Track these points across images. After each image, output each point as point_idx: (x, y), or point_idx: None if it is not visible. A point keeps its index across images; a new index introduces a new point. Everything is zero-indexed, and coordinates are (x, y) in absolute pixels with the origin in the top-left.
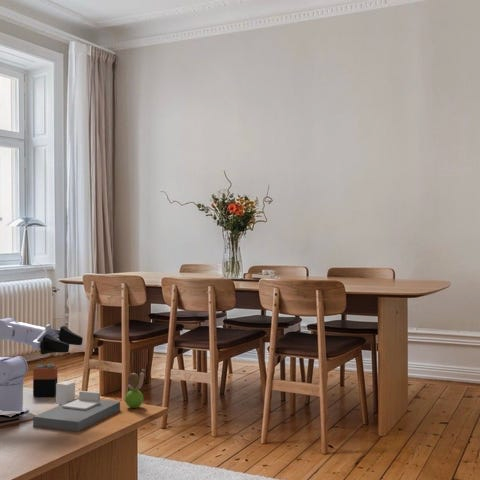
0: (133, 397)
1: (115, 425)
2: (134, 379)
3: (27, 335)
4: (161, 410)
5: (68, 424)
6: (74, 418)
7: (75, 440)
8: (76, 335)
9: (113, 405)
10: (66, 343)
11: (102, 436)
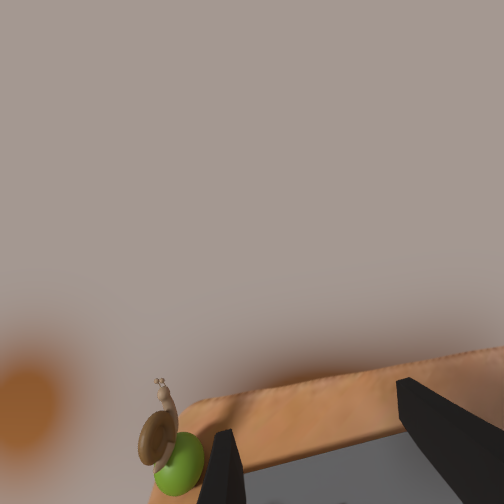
0: (197, 441)
1: (325, 402)
2: (159, 430)
3: None
4: (197, 402)
5: None
6: (421, 465)
7: (460, 392)
8: (226, 470)
9: (249, 473)
10: (415, 390)
11: (391, 371)
